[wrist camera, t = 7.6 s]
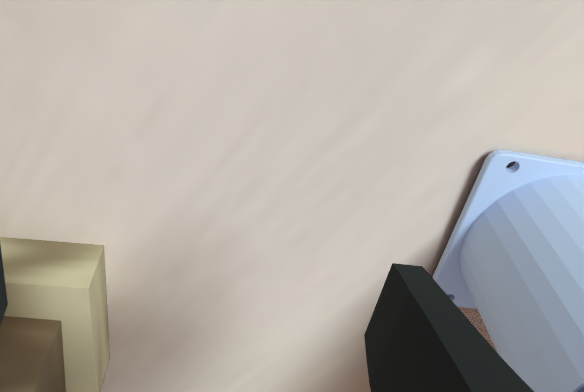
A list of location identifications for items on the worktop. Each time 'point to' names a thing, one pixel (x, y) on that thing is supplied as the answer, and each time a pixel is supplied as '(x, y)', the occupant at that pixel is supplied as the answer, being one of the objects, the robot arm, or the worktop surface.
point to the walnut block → (31, 355)
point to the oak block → (63, 301)
